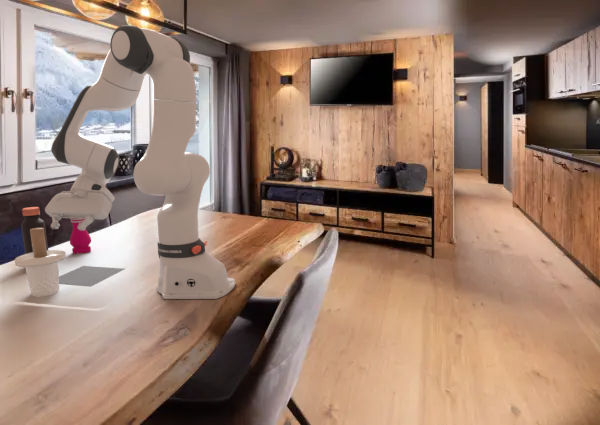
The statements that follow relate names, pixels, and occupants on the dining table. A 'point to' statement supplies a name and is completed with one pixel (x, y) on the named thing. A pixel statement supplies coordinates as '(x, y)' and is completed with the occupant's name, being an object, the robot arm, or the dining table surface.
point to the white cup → (43, 279)
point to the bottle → (31, 226)
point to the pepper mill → (79, 238)
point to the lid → (39, 252)
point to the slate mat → (87, 275)
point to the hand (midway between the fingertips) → (67, 228)
